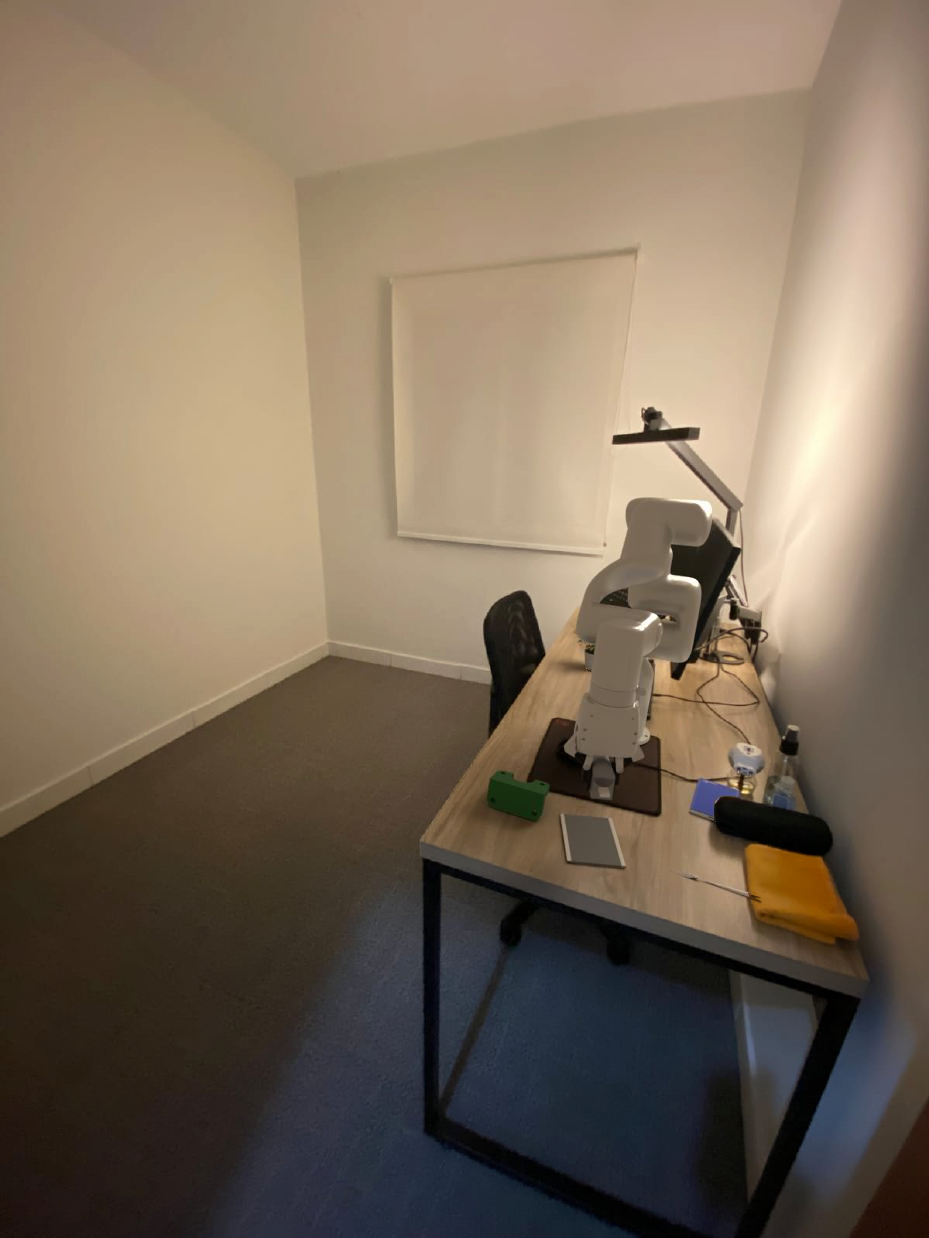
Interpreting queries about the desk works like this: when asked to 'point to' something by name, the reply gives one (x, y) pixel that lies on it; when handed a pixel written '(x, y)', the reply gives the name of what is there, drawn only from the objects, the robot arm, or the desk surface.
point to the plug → (602, 778)
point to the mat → (591, 841)
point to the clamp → (517, 795)
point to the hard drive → (709, 797)
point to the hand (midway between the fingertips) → (598, 785)
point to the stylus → (712, 883)
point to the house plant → (589, 655)
